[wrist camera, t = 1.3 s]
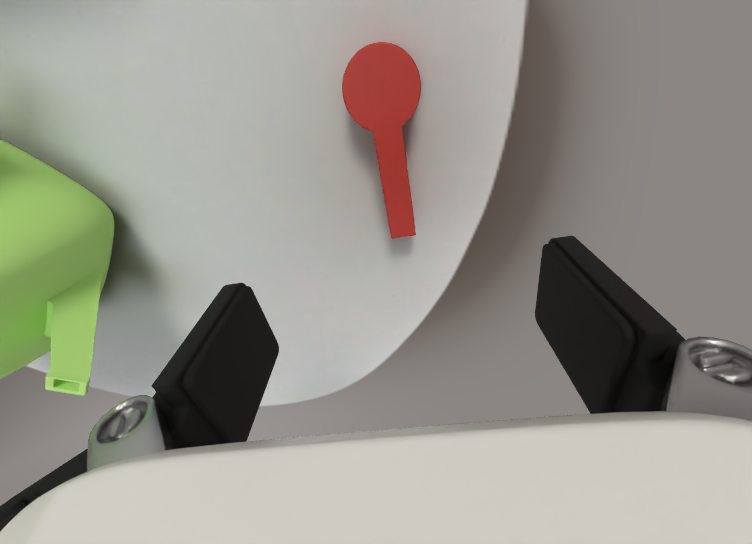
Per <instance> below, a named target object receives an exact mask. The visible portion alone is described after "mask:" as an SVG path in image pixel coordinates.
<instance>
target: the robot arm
mask: <svg viewBox="0 0 752 544" xmlns="http://www.w3.org/2000/svg"><path fill="white" fill-rule="evenodd" d="M535 317H536V321H537V323H538V325H539V327H540V329H541V330H542V332H543V334H544V335H545V337H546V339H547V341H548V342H549V344H550V346H551V347H552V349H553V351H554V352H555V354H556V356H557V358H558V359H559V361H560V363H561V364H562V366H563V368H564V369H565V371H566V373H567V374H568V376H569V378H570V379H571V381H572V383H573V384H574V386H575V388H576V390H577V391H578V393H579V394H580V396H581V398H582V400H583V401H584V403H585V405H586V406H587V408H588V410H589V411H590V413H591V414H584V415H567V416H551V417H537V418H525V419H511V420H498V421H486V422H473V423H460V424H448V425H435V426H423V427H410V428H399V429H386V430H374V431H362V432H351V433H338V434H326V435H315V436H304V437H292V438H281V439H270V440H259V441H248V442H246V441H247V438H248V435H249V433H250V430H251V427H252V424H253V422H254V419H255V416H256V413H257V411H258V408H259V405H260V402H261V400H262V397H263V394H264V391H265V389H266V386H267V383H268V381H269V378H270V375H271V372H272V370H273V367H274V364H275V361H276V359H277V356H278V352H279V346H278V343H277V340H276V338H275V336H274V334H273V332H272V330H271V328H270V326H269V324H268V322H267V320H266V317H265V315H264V313H263V311H262V309H261V307H260V305H259V303H258V301H257V299H256V297H255V295H254V292H253V290H252V289H251V288H250V287H249V286H246V285H245V284H244V283H237V284H230V285H225V286H224V287H223V288H222V289H221V290H220V292H219V293H218V295H217V296H216V297H215V299H214V300H213V301H212V303H211V304H210V306H209V307H208V308H207V310H206V311H205V313H204V314H203V315H202V317H201V318H200V320H199V321H198V322H197V324H196V325H195V326H194V328H193V329H192V331H191V332H190V333H189V335H188V336H187V338H186V339H185V340H184V342H183V343H182V344H181V346H180V347H179V349H178V350H177V351H176V353H175V354H174V356H173V357H172V358H171V360H170V361H169V362H168V364H167V365H166V367H165V368H164V369H163V371H162V372H161V374H160V375H159V376H158V378H157V379H156V380H155V382H154V383H153V385H152V387H153V388H154V389H155V391H156V393H155V395H154V396H153V398H152V397H150V396H148V395H139V396H135V397H132V398H129V399H127V400H125V401H123V402H121V403H119V404H118V405H116V406H115V407H113V408H112V409H111V410H109V411H108V412H107V413H106V414H105V415H104V416H102V418H101V419H100V420H99V421H98V422H97V423H96V424H95V426H94V427H93V429H92V431H91V433H90V435H89V439H88V449H86V450H85V451H83V452H82V453H80V454H78V455H77V456H75V457H74V458H72V459H71V460H69V461H68V462H66V463H65V464H63V465H62V466H60V467H59V468H57V469H55V470H54V471H52V472H51V473H49V474H48V475H46V476H45V477H43V478H42V479H40V480H39V481H37V482H36V483H34V484H33V485H31V486H30V487H28V488H26V489H25V490H23V491H22V492H20V493H19V494H17V495H16V496H14V497H13V498H11V499H10V500H8V501H7V502H6V503H4V504H3V505H1V506H0V544H752V350H751V349H749V348H747V347H745V346H743V345H740V344H737V343H734V342H731V341H728V340H724V339H719V338H714V337H695V338H689V339H687V340H685V339H684V338H683V337H682V336H681V335H680V334H679V333H678V332H677V331H676V330H677V329H676V328H675V327H673V326H672V325H671V324H670V323H669V322H668V321H667V320H666V319H665V318H663V316H661V315H660V314H659V313H658V312H657V311H656V310H655V309H654V308H653V307H652V306H650V305H649V304H648V303H647V302H646V301H645V300H644V299H643V298H642V297H640V296H639V295H638V294H637V293H636V292H635V291H634V290H633V289H632V288H631V287H629V286H628V285H627V284H626V283H625V282H624V281H623V280H622V279H621V278H619V277H618V276H617V275H616V274H615V273H614V272H613V271H612V270H611V269H610V268H608V267H607V266H606V265H605V264H604V263H603V262H602V261H601V260H600V259H598V258H597V257H596V256H595V255H594V254H593V253H592V252H591V251H590V250H588V249H587V248H586V247H585V246H584V245H583V244H582V243H581V242H580V241H579V240H577V239H576V238H575V237H574V236H566V237H559V238H553V239H551V240H550V241H549V243H548V244H545V245H544V246H543V249H542V258H541V267H540V275H539V283H538V292H537V301H536V309H535Z"/></svg>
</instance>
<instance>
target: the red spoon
mask: <svg viewBox="0 0 752 544" xmlns="http://www.w3.org/2000/svg"><path fill="white" fill-rule="evenodd" d="M342 90H343V98H344V102H345V105H346V108H347V110H348V112H349V113H350V115H351V116H352V118H353V119H354V120H355V121H356V122H357V123H358V124H359V125H361V126H362V127H364V128H366V129H368V130H370V131H373V136H374V141H375V147H376V153H377V159H378V164H379V170H380V176H381V182H382V187H383V193H384V199H385V204H386V210H387V216H388V222H389V227H390V233H391V238H392V239H393V238H400V237H407V236H413V235H416V233H415V225H414V217H413V209H412V201H411V194H410V186H409V178H408V170H407V162H406V154H405V146H404V138H403V131H402V125H403V124H405V123H406V122H407V121H408V120H409V119H410V117H411V116H412V115H413V113H414V111H415V110H416V107H417V105H418V102H419V98H420V92H421V81H420V75H419V72H418V69H417V67H416V64H415V63H414V61H413V59H412V58H411V57H410V55H409V54H408V53H407V52H406V51H404V50H403V49H402V48H400V47H398V46H396V45H394V44H391V43H386V42H378V43H373V44H370V45H367V46H365V47H364V48H362V49H361V50H359V51H358V52H357V53H356V54H355V55H354V56H353V57H352V59H351V60H350V62H349V63H348V66H347V68H346V70H345V73H344V77H343V85H342Z"/></svg>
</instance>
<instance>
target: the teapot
mask: <svg viewBox="0 0 752 544" xmlns="http://www.w3.org/2000/svg"><path fill="white" fill-rule="evenodd" d="M113 238H114V218H113V214H112V212H111V210H110V209H109V208H108V206H107V205H106V204H105V203H104V202H103V201H102V200H100V199H99V198H98V197H97V196H95V195H94V194H93V193H91V192H90V191H88V190H87V189H85V188H84V187H83V186H81V185H80V184H78V183H77V182H75V181H73V180H72V179H70V178H68V177H67V176H65V175H64V174H62V173H60V172H59V171H57V170H55V169H54V168H52V167H50V166H49V165H47V164H45V163H44V162H42V161H40V160H38V159H37V158H35V157H33V156H31V155H30V154H28V153H26V152H24V151H23V150H21V149H19V148H17V147H15V146H13V145H11V144H9V143H7V142H5V141H3V140H1V139H0V379H2V378H3V377H5V376H7V375H9V374H11V373H13V372H15V371H16V370H18V369H20V368H22V367H24V366H25V365H27V364H29V363H31V362H32V361H34V360H35V359H37V358H39V357H40V356H42V355H43V354H45V353H47V352H48V351H49V350H50V371H49V372H48V373H47V375H46V385H45V389H46V390H52V391H58V392H65V393H71V394H77V395H83V396H85V394H86V393H87V391H88V387H89V381H90V373H91V365H92V356H93V347H94V339H95V330H96V321H97V312H98V304H99V297H100V295H101V292H102V289H103V286H104V283H105V280H106V276H107V272H108V268H109V264H110V259H111V253H112V246H113Z"/></svg>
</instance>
